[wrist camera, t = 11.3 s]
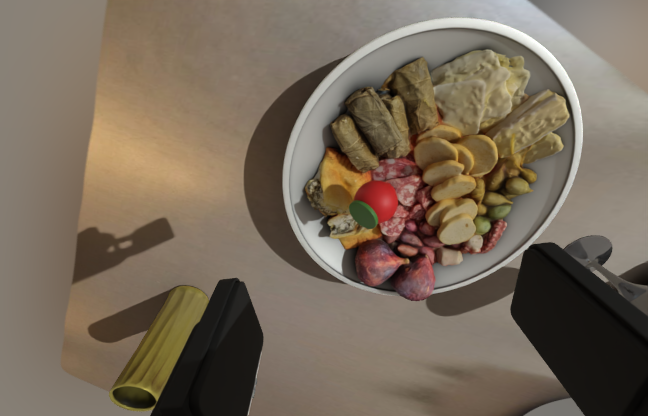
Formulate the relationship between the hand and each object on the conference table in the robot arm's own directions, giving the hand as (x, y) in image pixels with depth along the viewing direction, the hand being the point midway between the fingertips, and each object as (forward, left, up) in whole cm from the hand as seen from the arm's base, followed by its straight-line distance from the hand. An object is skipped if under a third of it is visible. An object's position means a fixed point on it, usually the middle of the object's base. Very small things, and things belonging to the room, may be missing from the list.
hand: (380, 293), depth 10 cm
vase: (+22, -26, -24) cm, 42 cm away
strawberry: (+4, +4, -17) cm, 18 cm away
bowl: (+6, +8, -24) cm, 26 cm away
